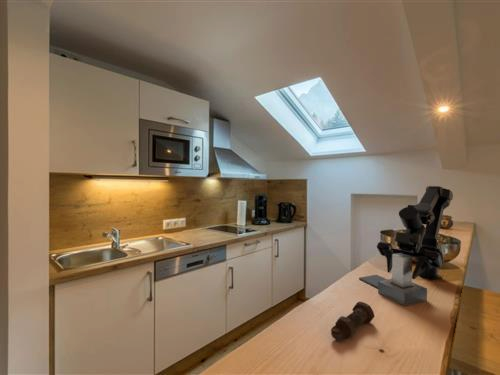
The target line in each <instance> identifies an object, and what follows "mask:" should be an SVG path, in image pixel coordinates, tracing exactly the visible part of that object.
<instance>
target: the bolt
mask: <svg viewBox="0 0 500 375" xmlns="http://www.w3.org/2000/svg"><path fill="white" fill-rule="evenodd" d="M373 319H375V312H374V310H373V308H372V307H371V305H370V304H368V303H365V302H364V301H358V302H356V304H355V305H354V306H353V308H352V312H351V313H349V314H348V315H347V316H342V315H341V316H340V317H339V318H338V319H336V322H335V324H334V326H332V328H331V329H330V334H331V337H332V338H333V339H335V340H336V341H338V342H340V341H343V340H344V339H350V338H351V337H352V336H353V335H354V334H355V332H356V329H357V328H358V327H359V326H360V325H361V324H362V323H364V324H366V325H369V324H370V323H371V322H372V321H373Z"/></svg>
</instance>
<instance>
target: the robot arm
mask: <svg viewBox="0 0 500 375" xmlns="http://www.w3.org/2000/svg"><path fill="white" fill-rule="evenodd" d="M453 199H454V194H453V191H451V189H447V188H444V187H443V186H438V185H428V186H426V188H425V192H424V194H423V195H422V197H421V199H420V200H419V202H418V203H417V204H408V205H407V206H406V207H404V208H402V209H400V210H399V211H398V217H399V219H400V221H401V223H402V225H403V227H404V228H405V231H404V232H400V231H396V232H395V237H394V242H396V246H397V247H398V248H397V247H393V246H392V243H391V242H386V241H379V242H378V243H377V244H376V248H377V250H378V252H379V254H380V255H381V256H382V257H385V259H386V268H387V273H390V272H391V271H392V254H398V253H403V254H406V255H409V256H412V259H415V260H417V263H416V264H415V267H414V269H413V271H412V280H415V279H416V278H417V277H419V276H420V277H422V278H425V279H428V280H437V279H442V278H443V276H442V275H439V269H441V268H442V265H445V264H444V263H445V261H444V260H445V258H444V254H443V252H442V249H441V248H442V247H441V246H440V243H439V242H438V237H439V233H440V228H441V223H442V219H443V214H444V210H446V208H448V207H450V205H451V201H453Z"/></svg>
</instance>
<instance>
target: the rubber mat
mask: <svg viewBox="0 0 500 375" xmlns="http://www.w3.org/2000/svg"><path fill="white" fill-rule="evenodd" d="M387 279H388V278H385V277H383V276H380V275H378V274H372V275H367V276H360V277H359V278H358V280H359V281H362V282H364V283H365V284H367V285H370V286H371V287H374V288H376V289H378V281H382V280H387Z"/></svg>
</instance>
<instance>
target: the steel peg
mask: <svg viewBox="0 0 500 375" xmlns="http://www.w3.org/2000/svg"><path fill="white" fill-rule="evenodd" d="M391 271H392V272H391V275H392V277H391V279H392V284H393V285H395V286H397V287H399V288H402V289H406V288H411V287H412V283H413V282H412V281H413V279H412V275H413V257H412V256H409V255H406V254H403V253H398V254H395V253H394V254H392V269H391Z"/></svg>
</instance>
